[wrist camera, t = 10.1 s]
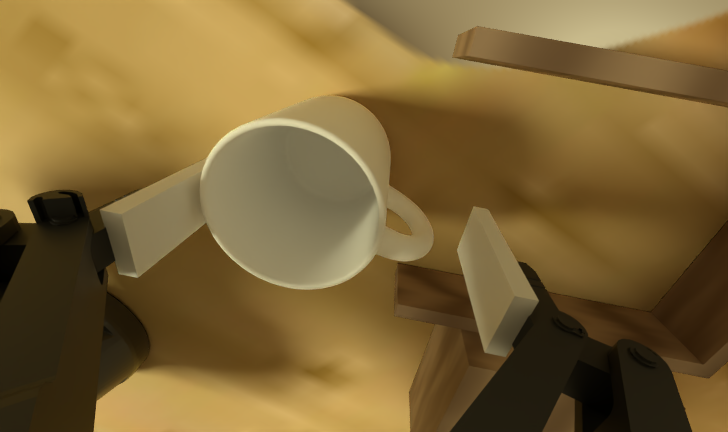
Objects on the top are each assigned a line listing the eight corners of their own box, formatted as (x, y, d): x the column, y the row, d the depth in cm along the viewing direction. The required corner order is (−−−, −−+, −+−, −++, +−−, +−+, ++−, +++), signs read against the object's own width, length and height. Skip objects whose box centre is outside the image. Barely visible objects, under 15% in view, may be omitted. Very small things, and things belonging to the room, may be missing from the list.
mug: (457, 161, 21) (501, 233, 12) (395, 242, 25) (393, 345, 16) (308, 68, 20) (230, 73, 11) (265, 170, 23) (179, 240, 14)
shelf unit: (366, 383, 34) (357, 467, 27) (458, 35, 18) (496, 17, 11) (568, 424, 34) (613, 521, 26) (849, 105, 18) (1153, 134, 10)
